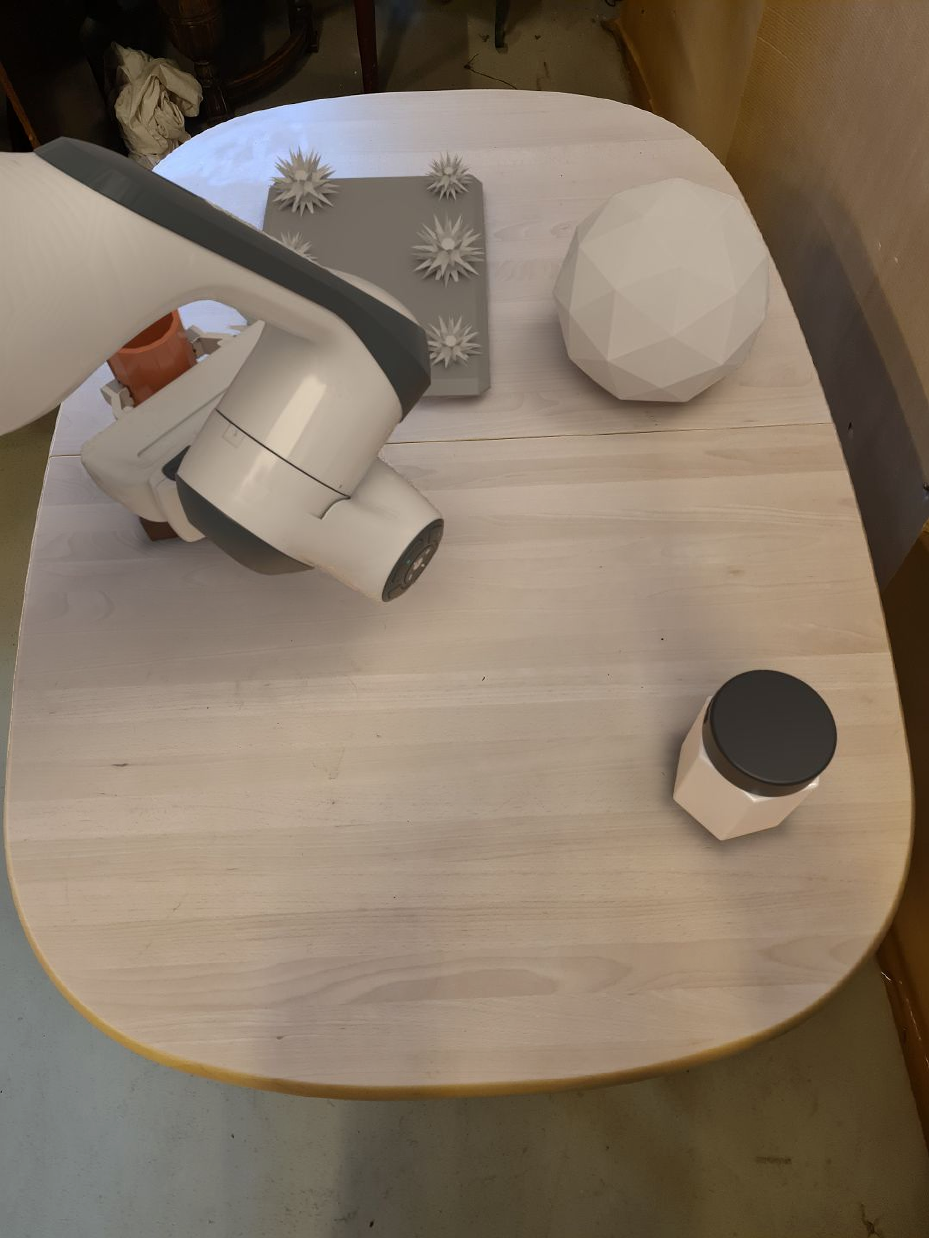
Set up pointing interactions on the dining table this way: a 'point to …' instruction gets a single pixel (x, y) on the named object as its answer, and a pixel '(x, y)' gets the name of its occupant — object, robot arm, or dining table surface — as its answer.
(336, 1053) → the dining table surface
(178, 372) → the pot
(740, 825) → the jar
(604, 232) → the sphere
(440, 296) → the decorative tray
